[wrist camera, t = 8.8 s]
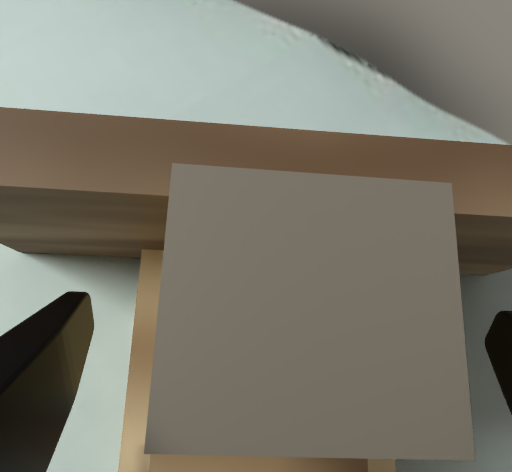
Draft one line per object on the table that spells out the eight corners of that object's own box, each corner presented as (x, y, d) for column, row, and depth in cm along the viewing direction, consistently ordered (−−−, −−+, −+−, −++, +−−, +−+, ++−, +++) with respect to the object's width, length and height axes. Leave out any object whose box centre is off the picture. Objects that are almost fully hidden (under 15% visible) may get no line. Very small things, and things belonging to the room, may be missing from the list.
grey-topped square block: (328, 393, 17) (475, 460, 7) (188, 389, 16) (144, 453, 7) (327, 268, 18) (451, 183, 8) (197, 261, 18) (171, 163, 8)
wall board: (507, 481, 16) (760, 603, 9) (-22, 475, 15) (-276, 616, 7) (480, 232, 19) (657, 156, 11) (27, 205, 18) (-122, 97, 10)
